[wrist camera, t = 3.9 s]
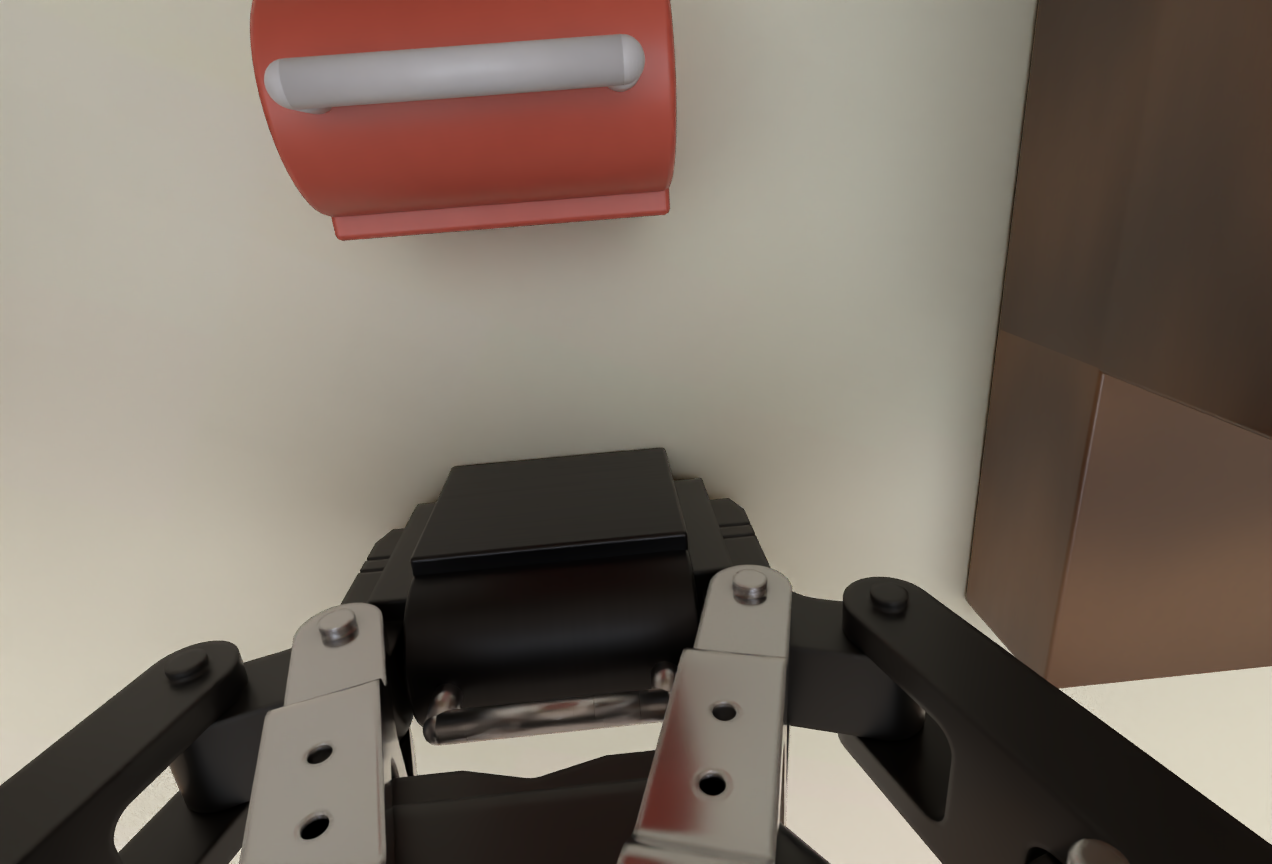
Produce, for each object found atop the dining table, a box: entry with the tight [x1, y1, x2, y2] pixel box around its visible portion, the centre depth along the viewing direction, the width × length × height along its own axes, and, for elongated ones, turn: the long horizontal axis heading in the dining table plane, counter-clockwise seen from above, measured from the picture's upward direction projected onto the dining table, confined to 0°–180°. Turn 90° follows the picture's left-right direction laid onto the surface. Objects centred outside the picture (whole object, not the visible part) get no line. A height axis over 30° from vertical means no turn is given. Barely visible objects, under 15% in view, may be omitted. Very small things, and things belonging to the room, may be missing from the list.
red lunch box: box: [250, 0, 676, 241], centre depth 9 cm, size 3×4×6 cm
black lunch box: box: [403, 448, 700, 745], centre depth 12 cm, size 3×4×6 cm
